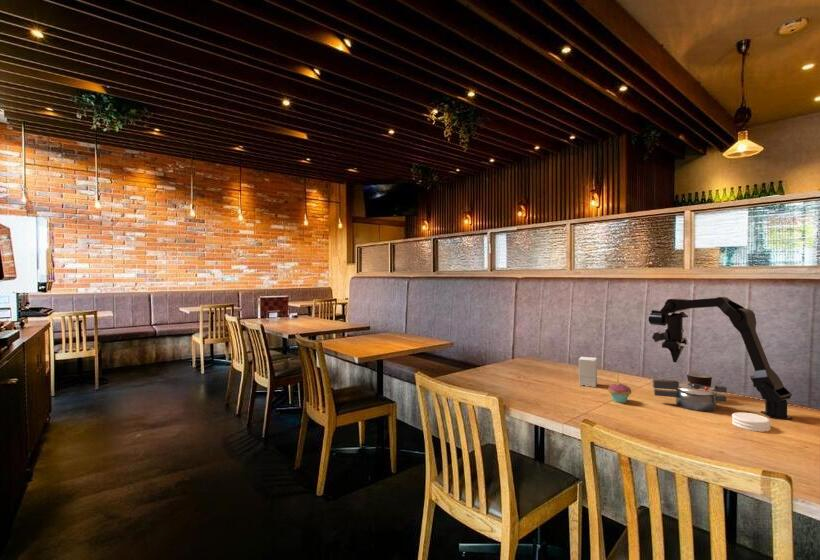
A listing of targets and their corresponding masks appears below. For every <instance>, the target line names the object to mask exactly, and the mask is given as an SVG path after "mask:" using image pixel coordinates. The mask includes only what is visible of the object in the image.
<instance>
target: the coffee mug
mask: <svg viewBox="0 0 820 560" xmlns="http://www.w3.org/2000/svg"><path fill="white" fill-rule="evenodd" d="M686 378H687V383H691V384H692V383H696V384H700V385H705V386H709V387H712V379H713V376H712V375H711V374H707V373H702V372H686Z"/></svg>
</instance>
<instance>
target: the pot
mask: <svg viewBox="0 0 820 560" xmlns="http://www.w3.org/2000/svg"><path fill="white" fill-rule="evenodd" d="M653 394H654V396H658V397H671V398H675V405H676V406H677V405H678V407H679V408H682V409H685V410H689V411H695V412H701V413H703V412H704V413H711V412H712V413H713V412H716V411H717V402H724V403H725V402H727V396H726V395H725V394H720V393H717V394H716V395H695V394H689V393H685V392H681V391H678V390H672V389H658V388H653Z"/></svg>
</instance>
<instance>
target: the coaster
mask: <svg viewBox="0 0 820 560" xmlns="http://www.w3.org/2000/svg"><path fill="white" fill-rule="evenodd" d="M731 423H732V425H733V426H735V427H736V426H737V428H739V429H742V428H743V429H742V430H745V429H747V431H750V430H752V431H751V432H757V431H759V432H758V433H766V432H765V431H767V432H769V430H770V431H771V420H770V419H769V418H768V417H767V416H766V417H765V416H763V415H760V414H756V413H749V412H742V411H741V412H739V411H738V412H734V413H732V414H731Z"/></svg>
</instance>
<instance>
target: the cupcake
mask: <svg viewBox="0 0 820 560" xmlns="http://www.w3.org/2000/svg"><path fill="white" fill-rule="evenodd" d="M608 393H609V394H610V395H611V398H612V400H613V401H614V402H615V403H619V402H620V404H624V403H625V404H626V403H627V402H628V398H629V396H630V395H631V394H632V389H631V388H630V386H627V384H624V383H620V381H619V374H618V373H616V383H612V384H610V385H609V386H608Z"/></svg>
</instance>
